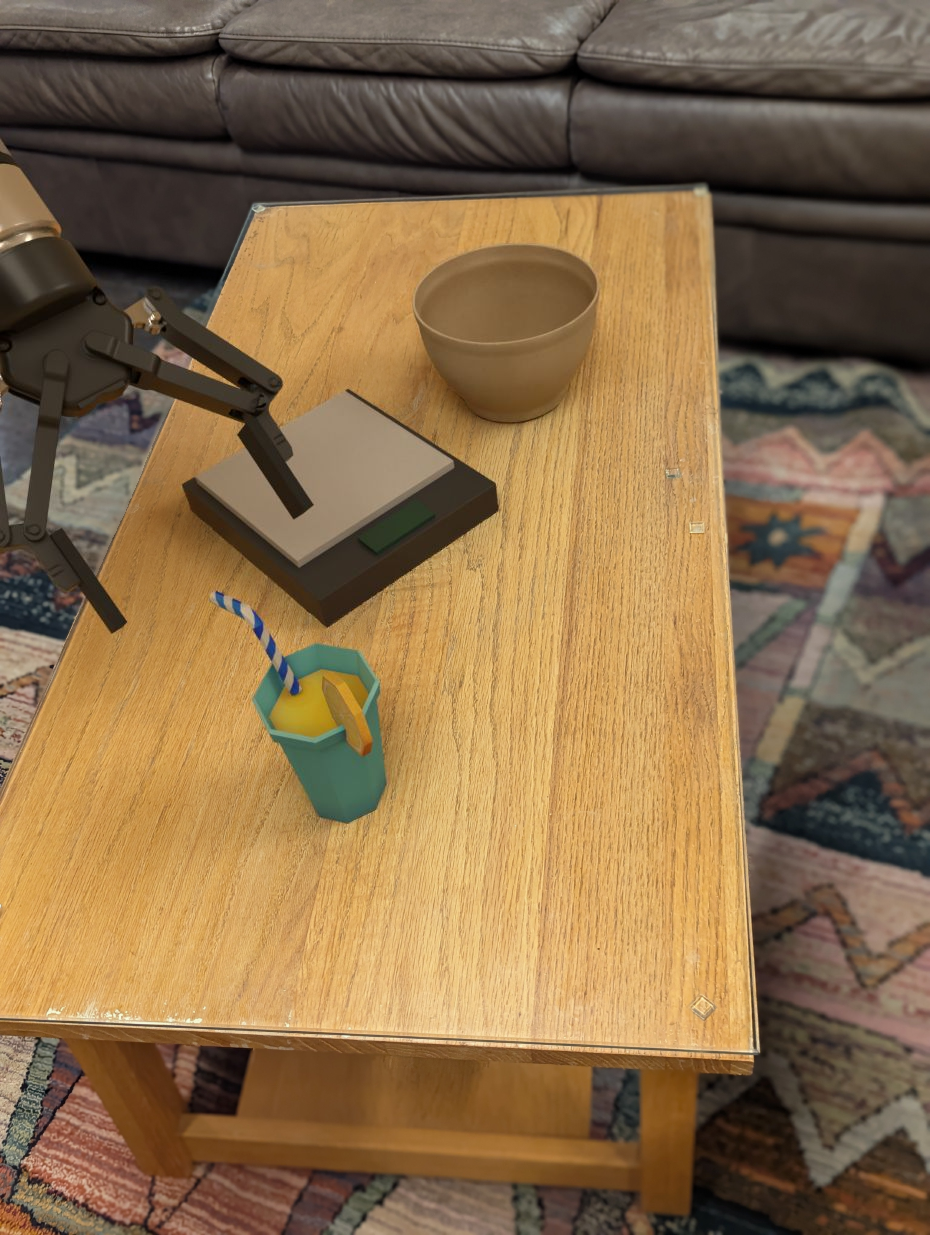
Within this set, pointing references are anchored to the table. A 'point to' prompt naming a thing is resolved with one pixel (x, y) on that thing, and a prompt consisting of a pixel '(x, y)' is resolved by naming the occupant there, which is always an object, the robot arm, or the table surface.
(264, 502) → the scale
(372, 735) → the cup
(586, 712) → the table surface
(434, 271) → the planter bowl
